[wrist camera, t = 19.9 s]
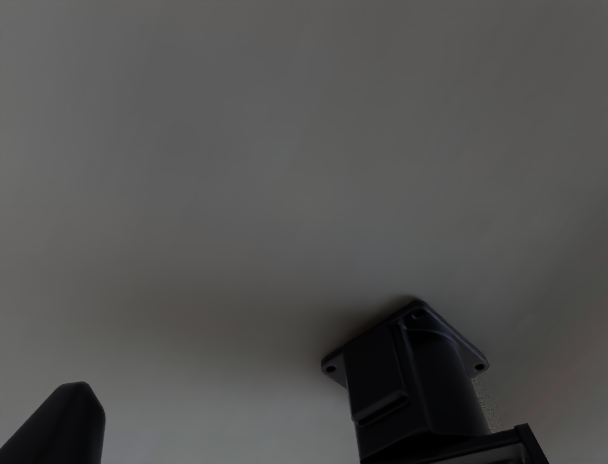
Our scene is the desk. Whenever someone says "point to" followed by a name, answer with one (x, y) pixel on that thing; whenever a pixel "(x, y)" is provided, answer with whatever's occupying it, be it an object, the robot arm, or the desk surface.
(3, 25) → the desk surface
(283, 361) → the desk surface
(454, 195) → the desk surface
